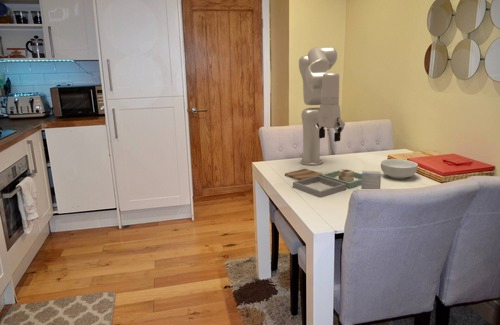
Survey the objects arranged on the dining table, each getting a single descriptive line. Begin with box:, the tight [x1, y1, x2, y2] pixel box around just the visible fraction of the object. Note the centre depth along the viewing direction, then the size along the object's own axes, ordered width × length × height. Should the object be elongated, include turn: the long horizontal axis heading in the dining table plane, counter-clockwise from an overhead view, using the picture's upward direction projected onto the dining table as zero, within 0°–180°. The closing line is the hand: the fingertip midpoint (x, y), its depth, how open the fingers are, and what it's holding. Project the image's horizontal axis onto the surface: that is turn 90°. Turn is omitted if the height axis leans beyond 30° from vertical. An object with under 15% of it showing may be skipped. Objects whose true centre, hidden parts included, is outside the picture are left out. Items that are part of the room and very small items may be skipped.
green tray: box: [321, 168, 362, 189], centre depth 180 cm, size 18×16×2 cm
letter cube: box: [338, 168, 355, 182], centre depth 180 cm, size 5×5×5 cm
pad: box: [284, 168, 323, 181], centre depth 190 cm, size 14×14×1 cm
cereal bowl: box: [380, 158, 419, 180], centre depth 182 cm, size 17×17×7 cm
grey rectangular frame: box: [292, 176, 347, 198], centre depth 170 cm, size 18×16×2 cm
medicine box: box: [361, 170, 382, 190], centre depth 164 cm, size 8×4×9 cm, turn 71°
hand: (329, 139), depth 169 cm, fingers open, 9 cm apart
